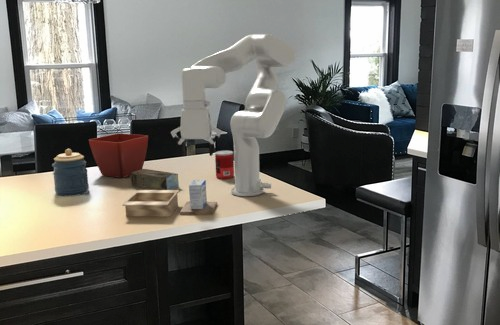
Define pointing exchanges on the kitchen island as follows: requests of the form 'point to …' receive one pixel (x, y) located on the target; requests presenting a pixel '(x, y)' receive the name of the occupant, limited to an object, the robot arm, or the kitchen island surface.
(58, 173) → the canister
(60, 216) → the kitchen island surface
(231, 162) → the canned food
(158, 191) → the wooden tray
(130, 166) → the plant pot
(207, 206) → the walnut board
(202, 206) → the medicine box
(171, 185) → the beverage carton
